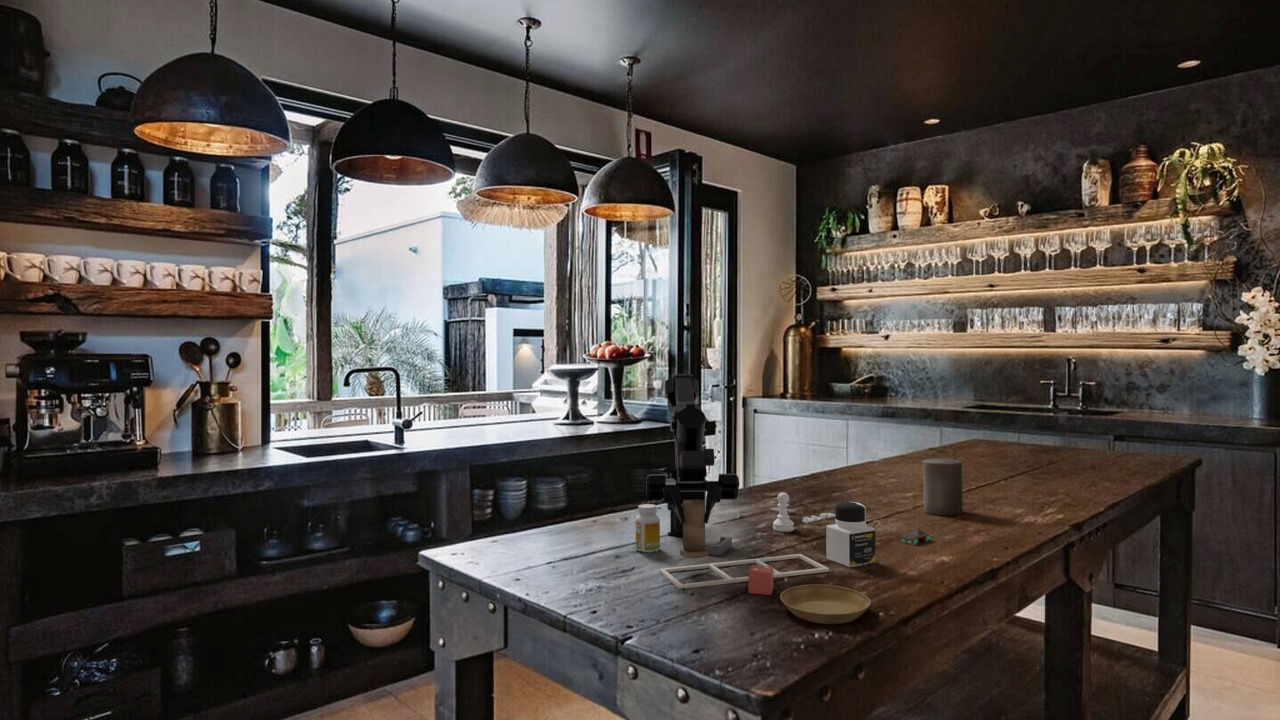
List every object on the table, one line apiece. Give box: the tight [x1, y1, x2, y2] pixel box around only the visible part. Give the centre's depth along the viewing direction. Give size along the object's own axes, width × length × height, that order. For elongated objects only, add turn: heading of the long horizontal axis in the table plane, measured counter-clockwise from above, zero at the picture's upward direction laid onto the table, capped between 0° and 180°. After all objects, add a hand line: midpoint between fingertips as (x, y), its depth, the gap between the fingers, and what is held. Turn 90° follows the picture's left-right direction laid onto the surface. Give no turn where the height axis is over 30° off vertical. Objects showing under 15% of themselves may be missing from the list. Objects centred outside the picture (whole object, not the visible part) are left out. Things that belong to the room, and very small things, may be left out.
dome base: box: [705, 535, 733, 557], centre depth 165 cm, size 8×8×2 cm
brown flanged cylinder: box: [679, 499, 709, 559], centre depth 149 cm, size 6×6×10 cm
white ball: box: [705, 522, 721, 545], centre depth 165 cm, size 5×5×5 cm
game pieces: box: [767, 506, 933, 545], centre depth 187 cm, size 45×13×6 cm, turn 36°
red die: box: [747, 564, 774, 596], centre depth 137 cm, size 4×4×4 cm
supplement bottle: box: [635, 503, 661, 553], centre depth 165 cm, size 5×5×10 cm
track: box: [658, 553, 830, 590], centre depth 149 cm, size 32×11×1 cm, turn 108°
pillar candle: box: [922, 455, 964, 517], centre depth 199 cm, size 10×10×15 cm
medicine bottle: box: [825, 501, 876, 568], centre depth 155 cm, size 7×7×12 cm
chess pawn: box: [772, 492, 795, 533], centre depth 182 cm, size 5×5×9 cm
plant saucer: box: [779, 584, 871, 625], centre depth 126 cm, size 15×15×3 cm
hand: (694, 522), depth 147 cm, fingers closed on brown flanged cylinder, 4 cm apart
